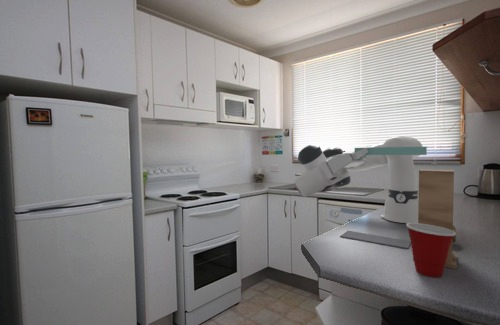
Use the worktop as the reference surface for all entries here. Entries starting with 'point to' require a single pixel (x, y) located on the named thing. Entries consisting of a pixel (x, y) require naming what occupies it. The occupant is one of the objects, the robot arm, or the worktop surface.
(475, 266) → the worktop surface
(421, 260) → the plastic cup
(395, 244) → the mat
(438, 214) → the stand
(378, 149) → the block
